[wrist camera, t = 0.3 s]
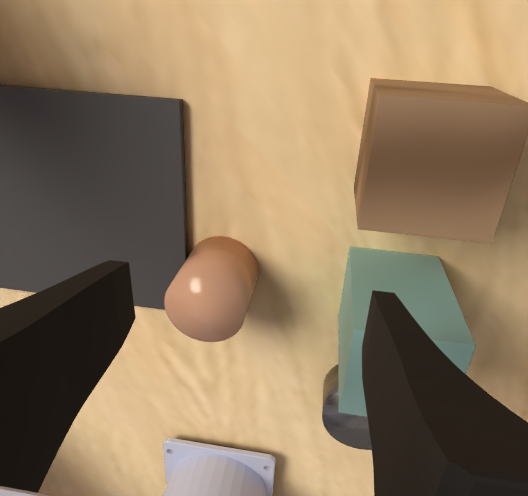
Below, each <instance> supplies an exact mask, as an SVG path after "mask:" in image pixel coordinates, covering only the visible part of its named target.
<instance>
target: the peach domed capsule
mask: <svg viewBox="0 0 528 496" xmlns="http://www.w3.org/2000/svg"><path fill="white" fill-rule="evenodd" d="M257 277H258V265H257V262H256V259H255V257H254V255H253V254H252V252H251V251H250V250H249V249H248V248H247V247H246V246H245V245H244V244H242V243H241V242H239V241H237V240H235V239H232V238H229V237H223V236H215V237H210V238H207V239H204V240H202V241H201V242H199V243H198V244H197V245H196V246H195V247H194V248H193V250H192V251H191V253H190V254H189V256H188V258H187V259H186V261H185V262H184V264H183V266H182V267H181V269H180V270H179V272H178V273H177V275H176V277H175V278H174V280H173V281H172V283H171V284H170V286H169V288H168V289H167V291H166V294H165V299H164V305H165V310H166V313H167V315H168V318H169V319H170V321H171V322H172V323H173V325H174V326H175V327H176V328H177V329H178V330H180V331H181V332H182V333H184V334H185V335H187V336H189V337H191V338H193V339H196V340H199V341H204V342H218V341H223V340H226V339H228V338H230V337H232V336H233V335H235V334H236V333H237V332H238V331H239V329H240V328H241V326H242V324H243V322H244V319H245V315H246V312H247V309H248V306H249V303H250V300H251V296H252V293H253V290H254V287H255V284H256V281H257Z"/></svg>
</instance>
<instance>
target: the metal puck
mask: <svg viewBox="0 0 528 496" xmlns="http://www.w3.org/2000/svg"><path fill="white" fill-rule="evenodd" d="M322 419H323V423H324V426H325V428H326V430H327V431H328V433H329V434H330V435H331V436H332V437H333V438H335V439H336V440H338V441H339V442H341V443H343V444H345V445H347V446H350V447H353V448H358V449H365V450H372V446H371V439H370V432H369V425H368V418H367V417H366V416H359V415H352V414H346V413H339V364H338V365H336V366H335V367H334V368H332V369H331V370H330V371H329V373H328V374H327V376H326V378H325V380H324V387H323V412H322Z"/></svg>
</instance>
